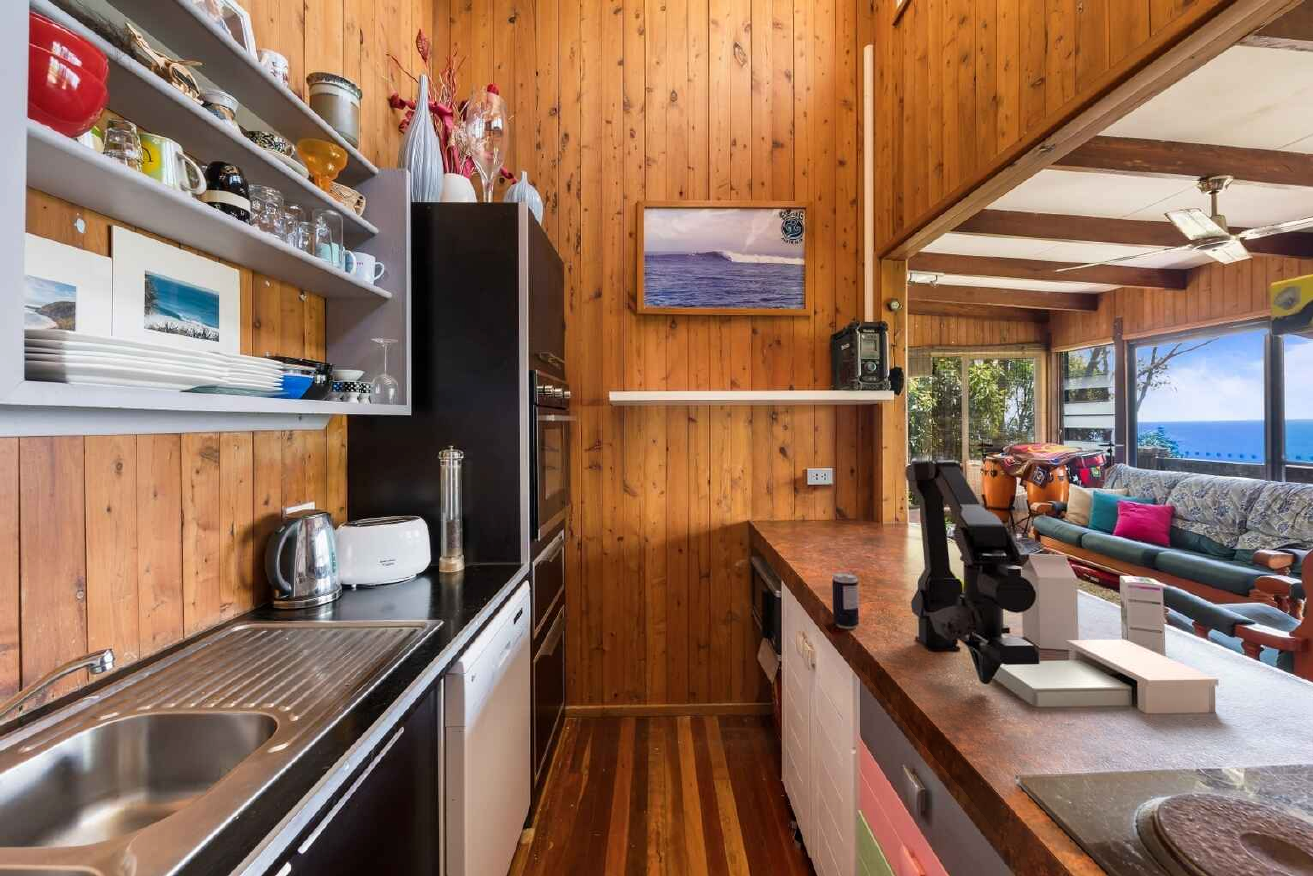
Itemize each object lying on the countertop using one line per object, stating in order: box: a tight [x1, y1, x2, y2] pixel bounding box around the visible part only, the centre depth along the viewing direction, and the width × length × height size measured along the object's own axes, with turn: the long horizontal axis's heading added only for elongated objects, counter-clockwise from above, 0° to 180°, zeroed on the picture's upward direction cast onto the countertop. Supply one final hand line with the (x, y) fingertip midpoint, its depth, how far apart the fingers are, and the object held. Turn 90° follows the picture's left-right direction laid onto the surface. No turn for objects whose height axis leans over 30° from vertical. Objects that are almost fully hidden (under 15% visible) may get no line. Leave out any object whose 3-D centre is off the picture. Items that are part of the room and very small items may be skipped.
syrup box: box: [1119, 575, 1167, 657], centre depth 104 cm, size 6×6×14 cm
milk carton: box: [1020, 553, 1079, 651], centre depth 108 cm, size 7×7×19 cm
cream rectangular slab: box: [992, 660, 1133, 708], centre depth 88 cm, size 16×10×3 cm, turn 90°
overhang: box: [1067, 638, 1219, 714], centre depth 88 cm, size 11×16×6 cm
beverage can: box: [831, 571, 860, 630], centre depth 120 cm, size 6×6×12 cm
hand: (984, 683), depth 88 cm, fingers closed
